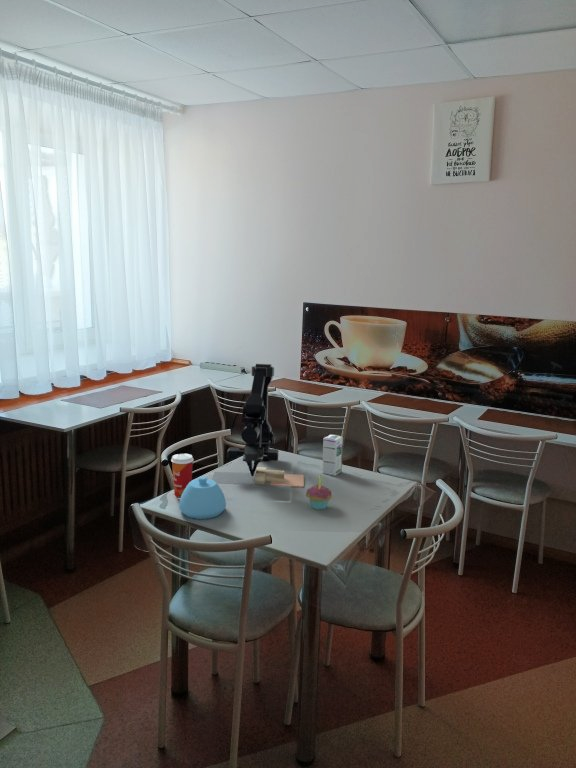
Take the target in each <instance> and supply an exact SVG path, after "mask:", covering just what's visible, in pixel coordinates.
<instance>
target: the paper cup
mask: <svg viewBox="0 0 576 768" xmlns="http://www.w3.org/2000/svg"><path fill="white" fill-rule="evenodd" d="M170 461H171V462H172V463H171V464H172V465H171V466H172V481H173V493H174V495H175V496H176V497H177V498H178V499H180V498H181V495H182V493H183V491H184V490H185V488H186V486H187V485H188V484H189V483H190V482H191V481H193V465H194V464H193V463H194V461H195V460H194V457H193V455H192V454H189V453H179V454H178V453H177V454H174V455H172V456H171V459H170Z"/></svg>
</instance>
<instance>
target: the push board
mask: <svg viewBox="0 0 576 768" xmlns="http://www.w3.org/2000/svg"><path fill="white" fill-rule="evenodd" d="M213 472H214V473H213V475H212V477H211V480H214V481H215V482H216V483H217V484H224V485H251V486H252V485H255V486H278V487H279V486H280V487H281V486H283V487H285V486H286V487H287V486H288V487H290V488H304V487H305V485H304V484H305V483H304V482H305V479H304V478H305V475H304V474H296V473H295V474H292V473H291V474H289V473H288V474H287V473H284V482H280V481H265V483H264V484H255V473H256V472H255V473H254V476H251V473H250V472H236V471H235V472H234V471H233V472H231V471H213Z"/></svg>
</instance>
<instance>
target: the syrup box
mask: <svg viewBox="0 0 576 768" xmlns="http://www.w3.org/2000/svg"><path fill="white" fill-rule="evenodd" d="M322 440H323V442H322V443H323V445H322V474H324V475H325V474H326V475H330V476H337V475H338V474H340V473H341V472H342V470H343V446H344V445H343V441H344V438H343V436H342V435H338V434H329V435H328V436H324V437H323V439H322Z"/></svg>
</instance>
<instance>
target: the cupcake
mask: <svg viewBox="0 0 576 768" xmlns="http://www.w3.org/2000/svg"><path fill="white" fill-rule="evenodd" d="M321 482H322V476H321V474H319V476H318V485H313V486H311V487H310V488H308V489H307V491H306V497H307V498H308V499H309V500H310V503H311V508H313V509H315V510H324V509H326V508H327V506H328V503H329V502H330V501H329V500H331V499H332V497H333V495H332V490H331V489H330V488H328V487H326V486H324V485H322V483H321Z"/></svg>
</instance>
